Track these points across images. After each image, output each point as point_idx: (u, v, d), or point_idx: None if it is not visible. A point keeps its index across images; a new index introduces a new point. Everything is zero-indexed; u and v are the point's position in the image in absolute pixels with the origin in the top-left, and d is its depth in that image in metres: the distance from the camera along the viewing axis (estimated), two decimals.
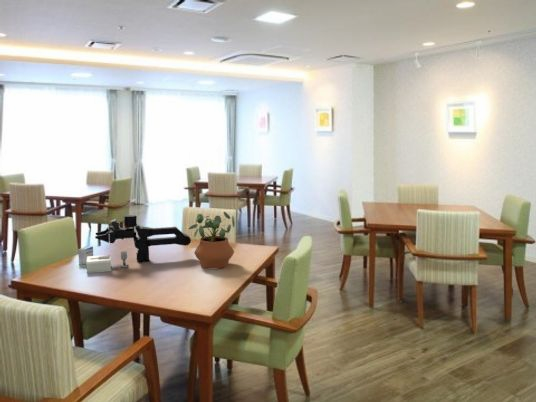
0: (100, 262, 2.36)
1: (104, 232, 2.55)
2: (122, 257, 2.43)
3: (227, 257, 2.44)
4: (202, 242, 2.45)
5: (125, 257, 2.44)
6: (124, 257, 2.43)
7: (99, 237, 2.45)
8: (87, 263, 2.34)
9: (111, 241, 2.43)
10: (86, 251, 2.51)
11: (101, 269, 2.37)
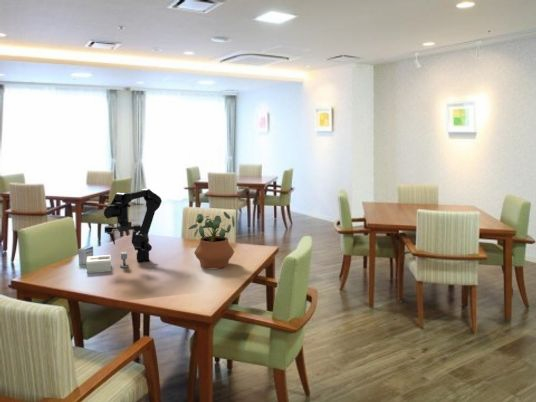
0: (100, 262, 2.36)
1: (113, 236, 2.42)
2: (122, 257, 2.43)
3: (227, 257, 2.44)
4: (202, 242, 2.45)
5: (125, 257, 2.44)
6: (124, 257, 2.43)
7: (133, 239, 2.47)
8: (87, 263, 2.34)
9: None
10: (86, 251, 2.51)
11: (101, 269, 2.37)
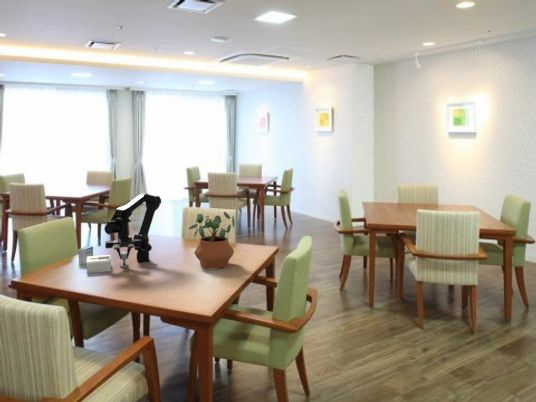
0: (100, 262, 2.36)
1: None
2: (122, 257, 2.43)
3: (227, 257, 2.44)
4: (202, 242, 2.45)
5: (125, 257, 2.44)
6: (124, 257, 2.43)
7: (128, 254, 2.47)
8: (87, 263, 2.34)
9: None
10: (86, 251, 2.51)
11: (101, 269, 2.37)
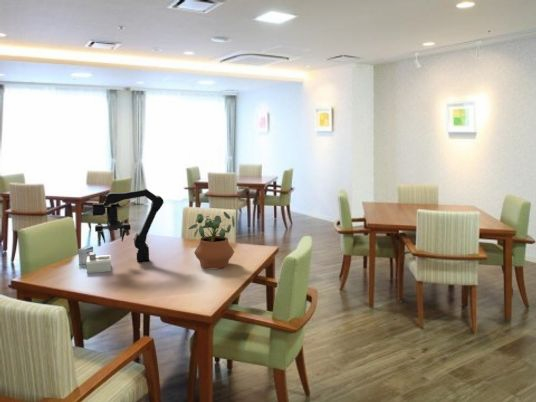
0: (100, 262, 2.36)
1: None
2: (90, 258, 2.37)
3: (227, 257, 2.44)
4: (202, 242, 2.45)
5: (93, 258, 2.38)
6: (92, 258, 2.38)
7: (123, 237, 2.54)
8: (87, 263, 2.34)
9: None
10: (86, 251, 2.51)
11: (101, 269, 2.37)
